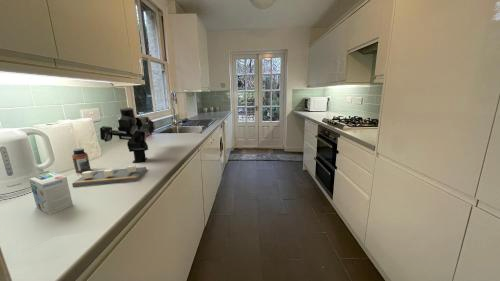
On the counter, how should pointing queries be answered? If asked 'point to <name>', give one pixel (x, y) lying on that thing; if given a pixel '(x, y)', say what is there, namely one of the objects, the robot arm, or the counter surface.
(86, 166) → the supplement bottle
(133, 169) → the switch
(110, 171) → the switch middle
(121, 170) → the switch panel
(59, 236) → the counter surface
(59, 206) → the light bulb box
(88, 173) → the switch right
